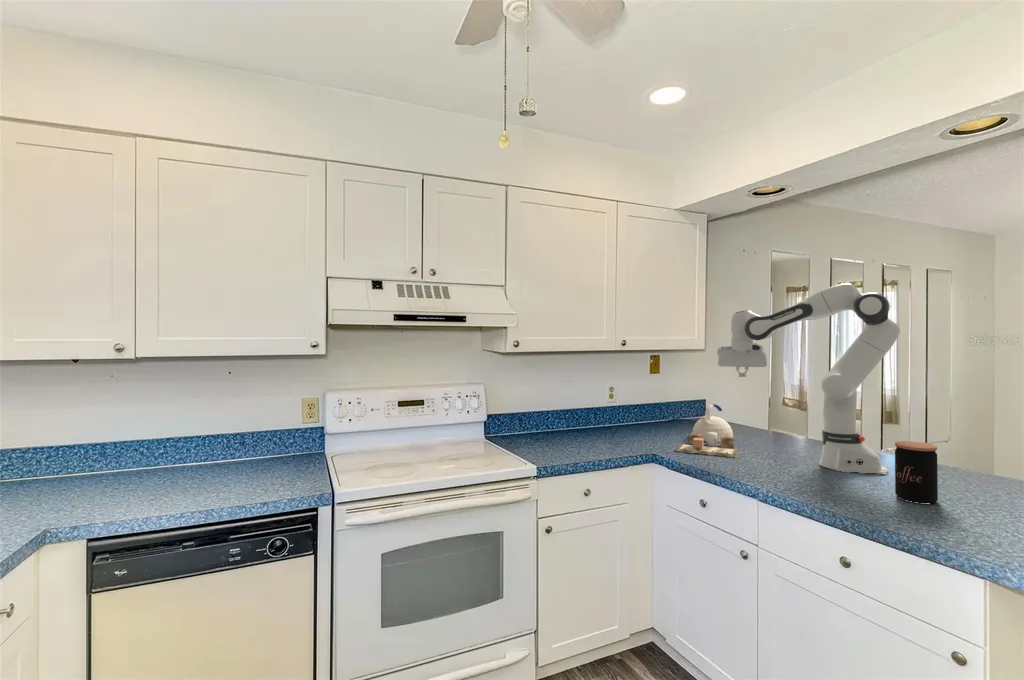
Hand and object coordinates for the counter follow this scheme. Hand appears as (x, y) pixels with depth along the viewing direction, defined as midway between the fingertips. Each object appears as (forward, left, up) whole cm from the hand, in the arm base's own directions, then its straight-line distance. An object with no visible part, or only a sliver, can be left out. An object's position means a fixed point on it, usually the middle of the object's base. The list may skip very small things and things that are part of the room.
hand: (742, 376), depth 219 cm
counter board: (+15, +4, -35) cm, 38 cm away
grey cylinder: (+15, -12, -35) cm, 40 cm away
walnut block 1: (+22, -11, -35) cm, 43 cm away
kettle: (+17, -29, -36) cm, 49 cm away
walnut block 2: (+8, -11, -35) cm, 38 cm away
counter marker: (+19, +5, -33) cm, 39 cm away
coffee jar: (-54, +41, -35) cm, 76 cm away
